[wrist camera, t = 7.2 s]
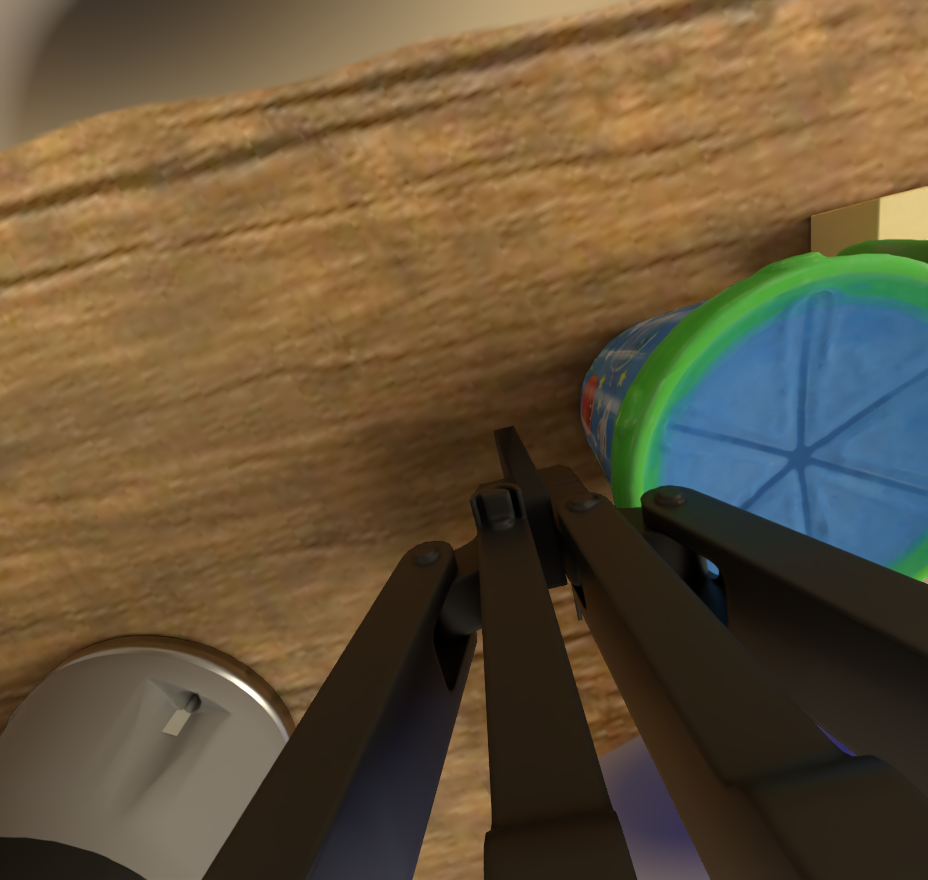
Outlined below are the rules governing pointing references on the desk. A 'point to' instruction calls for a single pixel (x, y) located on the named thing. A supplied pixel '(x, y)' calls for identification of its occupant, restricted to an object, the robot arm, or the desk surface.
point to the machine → (871, 222)
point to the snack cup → (784, 401)
